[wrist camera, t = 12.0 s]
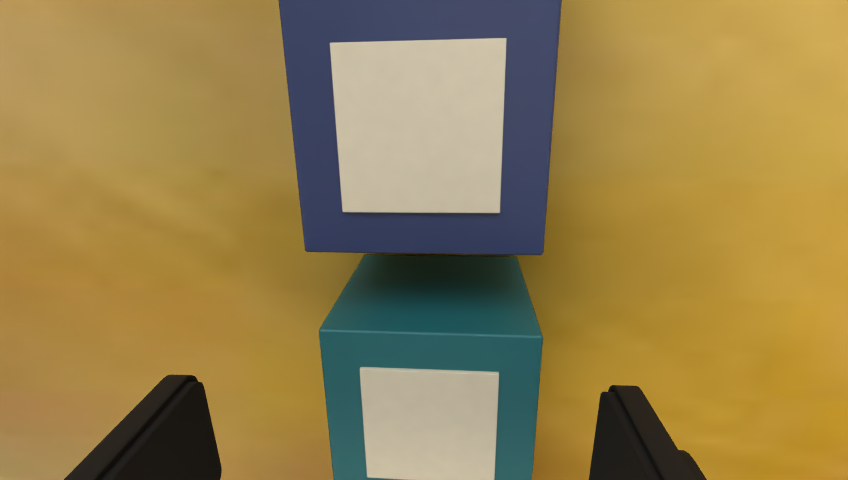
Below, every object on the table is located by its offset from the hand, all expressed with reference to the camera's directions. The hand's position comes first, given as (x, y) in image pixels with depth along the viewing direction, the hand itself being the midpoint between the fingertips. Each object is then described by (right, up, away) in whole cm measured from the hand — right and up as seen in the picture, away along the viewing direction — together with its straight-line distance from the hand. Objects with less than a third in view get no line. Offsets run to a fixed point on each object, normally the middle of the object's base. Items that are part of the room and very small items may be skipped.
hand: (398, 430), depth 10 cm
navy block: (+1, +8, +4) cm, 9 cm away
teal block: (+1, +1, +6) cm, 6 cm away
